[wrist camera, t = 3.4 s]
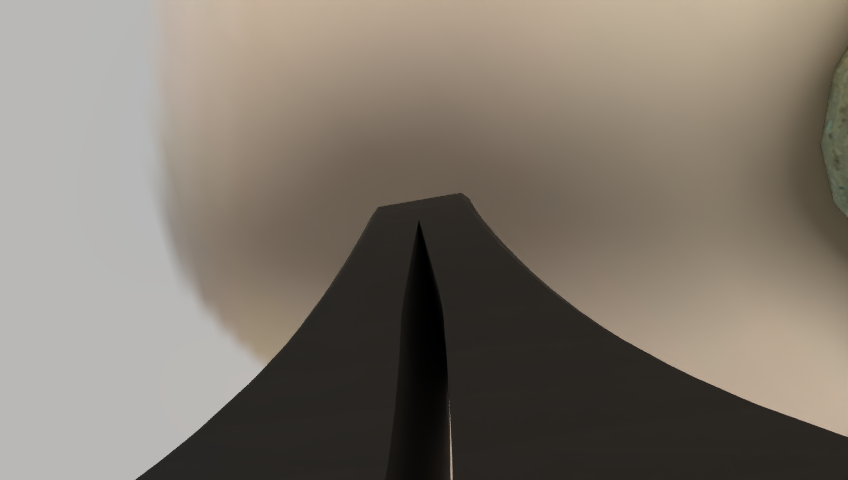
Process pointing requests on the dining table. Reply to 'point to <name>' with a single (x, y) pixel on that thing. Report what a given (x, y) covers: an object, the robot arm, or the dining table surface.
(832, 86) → the vessel
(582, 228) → the dining table surface
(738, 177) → the dining table surface
